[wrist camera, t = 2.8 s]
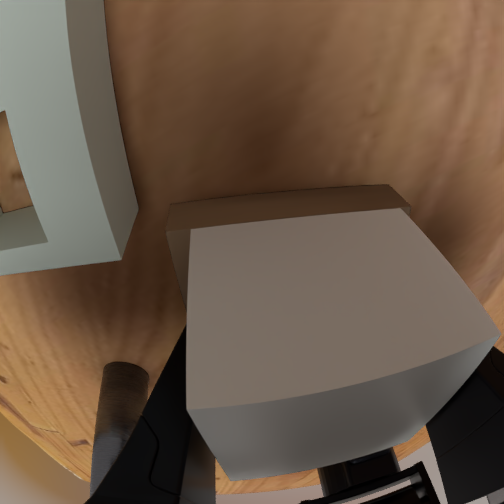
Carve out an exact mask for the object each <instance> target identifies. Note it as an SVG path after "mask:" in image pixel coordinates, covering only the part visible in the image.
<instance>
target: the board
mask: <svg viewBox="0 0 504 504" xmlns="http://www.w3.org/2000/svg"><path fill="white" fill-rule="evenodd" d="M396 208H401V209H402V210H403V211H404V212H405V213H406V214H407V215H408V216H410V211H411V206H410V205H409V204H408V203H407V202H406V201H405V200H404V199H403V198H402V197H401V196H400V195H399V194H398V193H397V192H396V191H395V190H394V189H393V188H392V187H391V186H390V185H369V186H351V187H335V188H321V189H308V190H295V191H284V192H273V193H262V194H252V195H243V196H234V197H225V198H216V199H208V200H200V201H192V202H184V203H177V204H171V205H170V210H169V215H168V220H167V225H166V230H165V233H166V237H167V241H168V245H169V249H170V253H171V257H172V261H173V265H174V268H175V272H176V276H177V280H178V283H179V287H180V291H181V294H182V298H183V301H184V305H185V308H186V312H187V295H188V271H189V251H190V235H191V229H196V228H205V227H213V226H221V225H230V224H239V223H248V222H257V221H266V220H275V219H285V218H295V217H305V216H315V215H326V214H336V213H348V212H359V211H371V210H383V209H396Z"/></svg>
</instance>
